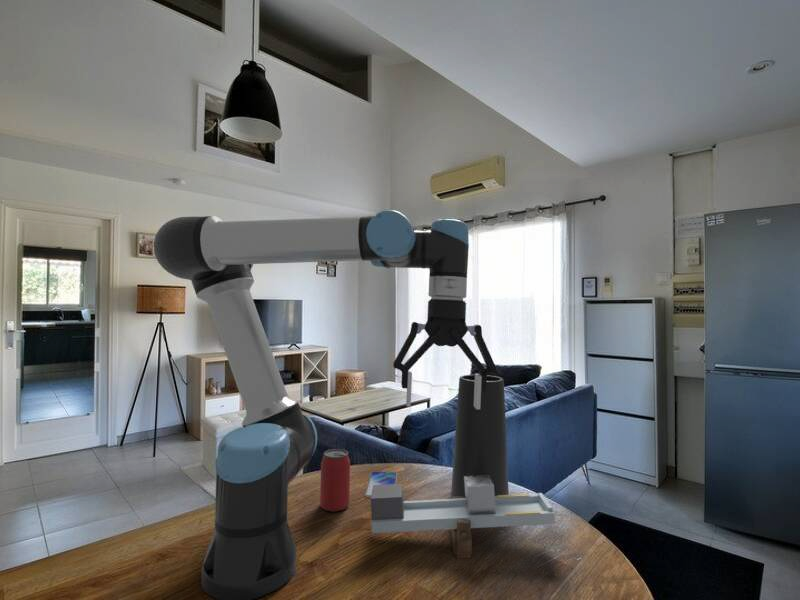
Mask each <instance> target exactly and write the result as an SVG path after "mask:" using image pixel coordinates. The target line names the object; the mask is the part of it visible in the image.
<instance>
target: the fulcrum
mask: <svg viewBox="0 0 800 600" xmlns="http://www.w3.org/2000/svg"><path fill="white" fill-rule="evenodd" d="M457 498H464V497H462V496H452V498H451V499H457ZM449 534H450V538H451V544H452V549H453V550H452V551H453V555H455V556H456V559H471V556H472V555H473V554H472V553H473V549H472V548H473V532H472V528H471V522H470V520H457V529H449Z"/></svg>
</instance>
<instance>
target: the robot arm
mask: <svg viewBox="0 0 800 600" xmlns="http://www.w3.org/2000/svg"><path fill="white" fill-rule="evenodd" d="M469 238H470V237H469V226H468V225H467V223H465V222H464V221H462V220H459V219H451V218H450V219H449V218H445V219H437V220H434V221H433V222H432V223H431V226H430V230H415V228H414V226H413V225H412V222H411V221H410V220H409V219H408V218H407V217H406V216H405V215H404V214H403V213H402V212H400V211H397V210H394V209H393V210H392V209H385V210H381V211H379V212H377V213H376V214H375V215H374V216H373V215H372V216H371V215H370V216H368V215H367V216H348V217H346V216H344V217H325V218H324V217H321V218H320V217H319V218H317V217H316V218H294V219H293V218H291V219H289V218H288V219H267V220H266V219H263V220H238V221H237V220H236V221H234V220H231V221H223V220H222V219H221V218H220V217H218V216H215V215H210V216H208V215H207V216H180V217H175V218H172V219H170V220H168V221H167V222H166V223H164V224H163V225H162V226H161V227H160V228H159V229H158V230H157V232H156V234H155V237H154V241H153V252H154V256H155V258H156V260H157V262H158V264H159V265H160V266H161V268H162V269H163V270H165V271H166V273H168V274H170V275H172V276H174V277H176V278H179V279H183V280H188V281H190V282H191V284H192V287H193V290H194V292H195V296H196V298H197V299H198V300H201V301H203V302H206V303H207V305H208V308H209V311H210V313H211V314H210V315H212V320H213V322H214V325H215V327H216V330H217V334H218V336H219V338H220V342H221V345H222V347H223V350H224V353H225V356H226V359H227V362H228V364H229V367H230V369H231V373H232V375H233V378H234V381H235V384H236V387H237V389H238V392H239V395H240V397H241V400H242V404H243V407H244V409H245V413H246V414H245V415H244V416H245V417H244V419H243V421H242V422H241V427H240V426H239V427H238V428H235V429H233V430H231V431H229V432H228V433H226V435H224V436H223V438H221V440H220V442H219V444H218V446H217V453H216V458H215V465H214V466H215V503H214V507H215V509H214V510H215V511H214V532H213V533H212V537H211V540H210V543H209V545H208V548H207V551H206V554H205V557H204V560H203V562H202V567H201V586H202V589H203V591H204V592H205V593H206V594H207V595H208V596H210V597H212V598H214V599H215V600H255V599H258V598H261V597H264V596H267V595H270V594H271V593H273V592H274V591H277V590H279V588H281V587H283V585H285V584H286V583H287V582H288V581H290V580H291V578H292V577H293V575H294V573H295V571H296V568H297V549H296V548H297V547H296V544H295V540H294V538H293V535H292V533H291V529H290V526H289V522H288V497H289V496H288V493H289V492H288V491H289V490H288V489H289V485H290V483H291V482H292V481H293V480H294V479H295V478H296V477H297V476H298V475H299V473H300V472H301V471H302V470H303V469H304V468H305V467H307V465H308V464H309V463H310V461H311V460H312V458H313V456H314V453H315V451H316V448H317V444H318V432H317V428H316V425H315V423H314V422H313V421H312V419H311V418H310V417H309V416H308V415H307V414H304V413H303V411H302V409H301V407H300V404H299V402H298V400H297V399H295V398H292V397H290V396H289V395H288V393H287V390H286V388H285V387H286V386H285V383H284V381H283V379H282V376H281V374H280V370H279V368H278V365H277V362H276V359H275V357H274V354H273V351H272V348H271V345H270V343H269V340H268V338H267V335H266V332H265V329H264V326H263V323H262V321H261V318H260V315H259V313H258V310H257V307H256V304H255V301H254V299H253V296H252V292H251V289H252V286H253V285H254V282H255V279H254V275H253V274H252V268H253V266H254V265H259V264H260V265H261V264H263V265H265V264H266V265H268V264H292V263H295V264H297V263H323V262H324V263H325V262H328V263H329V262H355V261H356V262H358V261H366V262H367V261H368V262H369V261H370V263H371V265H372V266H373V267H382V268H385V269H391V268H397V269H398V268H399V269H400V268H401V269H402V268H404V269H406V268H407V269H412V268H413V269H428V270H429V274H428V275H429V278H428V293H427V294H428V296H429V297H430V299H429V300H428V301H427V320H426V323H425V324H424V323H419V322H416V321H413V322H412V323H411V325H410V332H409V334H408V335H407V337H406V340H405V341H404V343H403V345H402V346H401V349H400V350H399V352H398V354H397V356H396V357H395V359H394V361H393V363H392V365H393V368H394V369H397V370H399V371H400V372H401V388H402V389H406V400H405V401H406V403H405V404H406V407H407V408H408V407H411V405H412V404H411V403H412V384H413V383H412V381H413V371H412V370H411V368H412V367H413V366H414V365H415V364H416V363H417V362H418V361H419V360H420V358H422V356H424V355H425V353H426V352H427V351H428V350H429V349H430V348H431V347H432V346H433V345H435V346H437V347H444V346H447V347H452V348H453V347H455V346H458V347H459V348H460V349H461V351H462V352H463V353H464V354H465V356H466V357H467V359H468V360H469V361H470V362H471V364H472V365H473V366H474V368H475V369H476V371H478V373H474V375H475V384H474V407H475V408H476V409H480V404H481V391H483V392H485V391H486V381H487V375H489V374H492V373H496V372H497V367H496V365H495V361H494V359H493V357H492V355H491V353H490V350H489V349H488V347H487V344H486V342H485V340H484V338H483V332H482V330H483V329H482V326H481V325H480V324H474V325H467V323H466V319H467V302H466V300H465V301H464V299H466V298H467V294H468V293H467V289H468V285H467V284H468V282H467V281H468V268H469V267H468V265H469V248H470V243H469ZM422 330H424V331H425V332H426V335H428V337H427V338H426V339H425V341H423V343H422V344H421V345H420V346H419V347H418V348H417V350H415V352H414V353H413V354H412V355H411V356H410V357H409V358H408V359H407V360H406V361H405V362H404V363H403V361H404V359H405V358H406V355H407V354H408V352H409V350H410V349H411V346H412V344H413V343H414V342H415V341H414V340H415V339H416V337H417V335H420V334H421V333H422ZM467 332H469V334H470V336H473V339H474V340H475V343H476V345H477V348H478V350H479V352H480V354H481V357H482V359H483V361H484V363H485V365H486V366H484V365H483V363H482V362H481V361H480V360H479V358H478V357H477V356H476V355H475V354H474V352H473V351H472V349H470V347H469V345H468V344H467V343H466V341H465V340H464V339H463V338H464V337H465V335H466V334H467Z"/></svg>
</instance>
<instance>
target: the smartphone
mask: <svg viewBox="0 0 800 600" xmlns="http://www.w3.org/2000/svg"><path fill="white" fill-rule="evenodd" d="M397 476H398V473H397V472H396V471H371V472H370V476H369V479H368V483H367V486H366V490H365V493H364V497H365V498H367V499H370V498H371V493H372V489H373V485H385V484H397V480H398V479H397V478H398V477H397Z"/></svg>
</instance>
